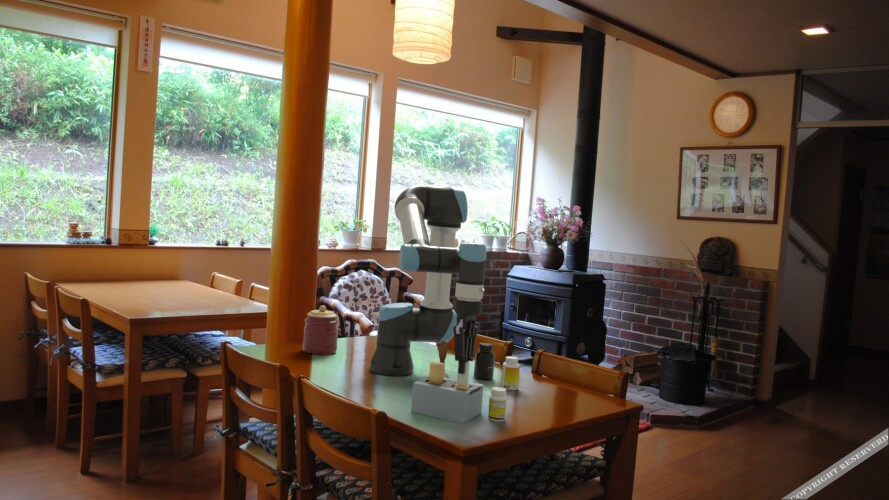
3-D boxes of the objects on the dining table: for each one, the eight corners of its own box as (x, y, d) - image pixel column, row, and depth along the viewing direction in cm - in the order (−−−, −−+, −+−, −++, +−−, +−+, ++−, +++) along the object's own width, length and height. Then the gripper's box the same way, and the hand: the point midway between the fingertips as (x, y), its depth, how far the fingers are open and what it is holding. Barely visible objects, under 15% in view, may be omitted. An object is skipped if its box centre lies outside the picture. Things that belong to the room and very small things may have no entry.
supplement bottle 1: (491, 381, 221) (494, 346, 221) (471, 379, 223) (474, 344, 222) (494, 377, 228) (497, 343, 227) (475, 375, 229) (477, 341, 229)
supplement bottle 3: (521, 390, 213) (523, 359, 212) (506, 391, 210) (509, 359, 210) (512, 385, 218) (514, 355, 217) (497, 386, 215) (500, 355, 215)
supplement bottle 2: (490, 415, 182) (492, 385, 181) (506, 418, 180) (509, 388, 180) (486, 420, 177) (488, 389, 177) (503, 423, 176) (505, 392, 175)
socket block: (411, 411, 180) (413, 382, 179) (430, 402, 190) (432, 375, 190) (464, 423, 173) (466, 393, 172) (481, 412, 184) (483, 384, 183)
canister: (309, 346, 256) (312, 302, 255) (341, 350, 254) (344, 305, 253) (297, 353, 243) (300, 305, 242) (330, 356, 241) (334, 309, 240)
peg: (425, 390, 182) (427, 363, 182) (431, 387, 186) (433, 361, 185) (438, 392, 180) (440, 365, 180) (444, 389, 184) (446, 363, 184)
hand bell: (434, 395, 198) (438, 343, 197) (422, 388, 205) (426, 338, 205) (458, 394, 202) (462, 343, 201) (446, 387, 209) (449, 338, 208)
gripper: (472, 302, 171) (465, 391, 172) (490, 299, 183) (483, 382, 184) (446, 299, 174) (439, 386, 175) (465, 296, 186) (459, 378, 187)
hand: (462, 384), depth 179 cm, fingers closed
